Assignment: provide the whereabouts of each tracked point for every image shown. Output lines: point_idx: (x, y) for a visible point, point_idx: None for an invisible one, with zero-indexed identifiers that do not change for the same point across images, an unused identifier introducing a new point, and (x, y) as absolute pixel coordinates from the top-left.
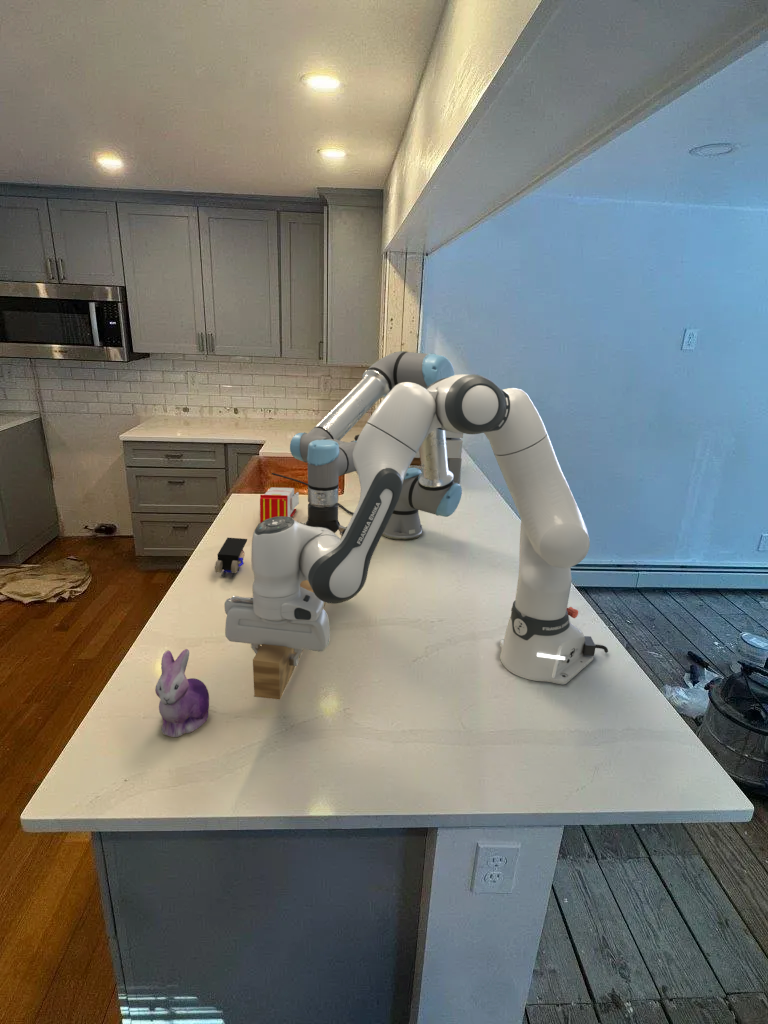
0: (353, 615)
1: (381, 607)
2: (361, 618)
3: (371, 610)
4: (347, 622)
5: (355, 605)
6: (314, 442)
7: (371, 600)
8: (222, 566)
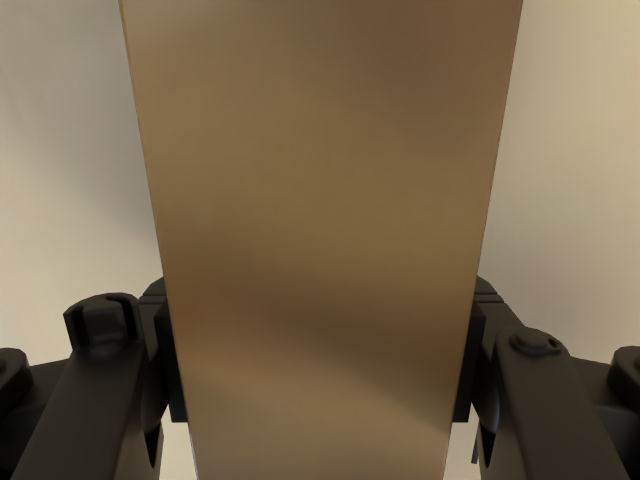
0: (115, 118)
1: (4, 236)
2: (57, 93)
3: (41, 194)
4: (118, 25)
5: (143, 229)
6: None
7: (83, 293)
8: None
